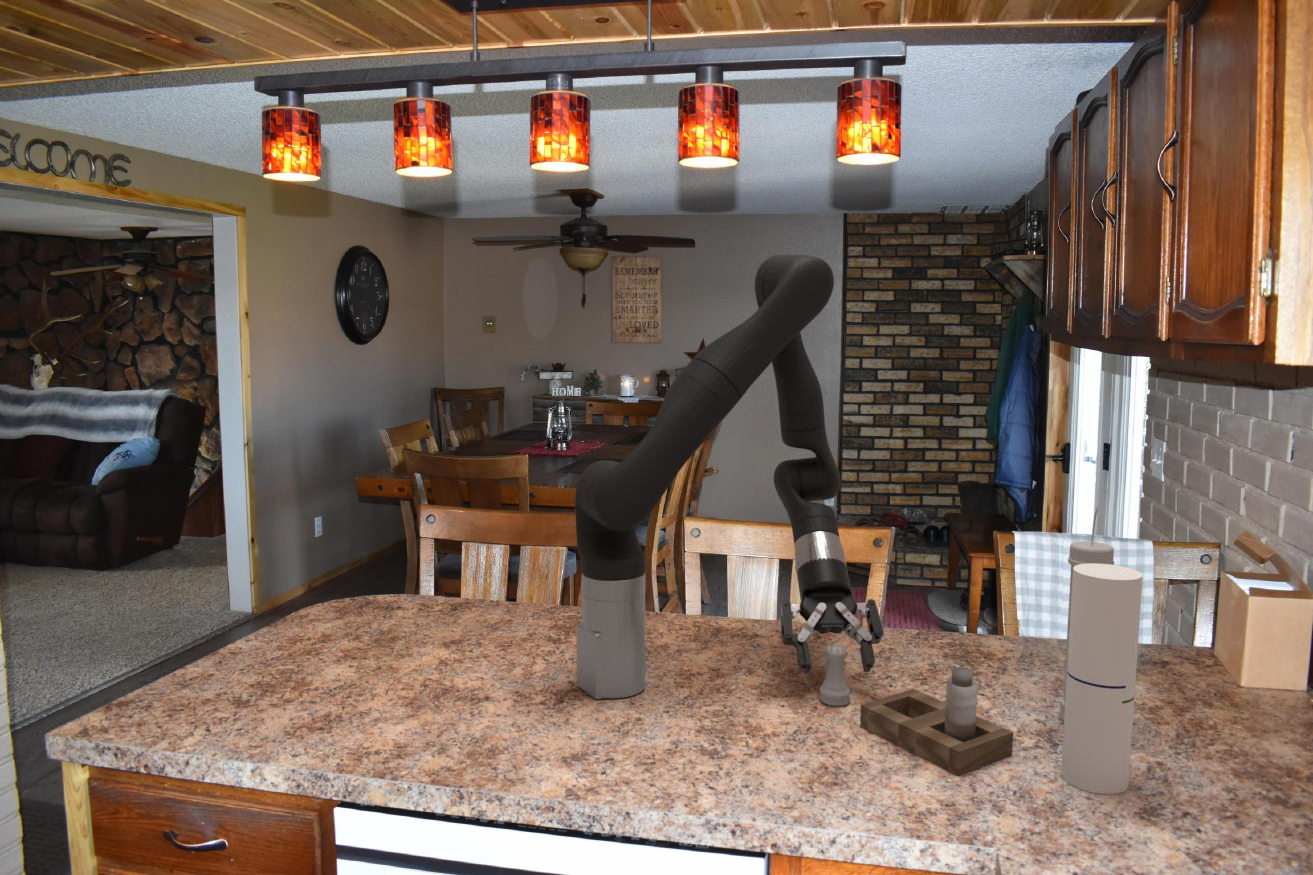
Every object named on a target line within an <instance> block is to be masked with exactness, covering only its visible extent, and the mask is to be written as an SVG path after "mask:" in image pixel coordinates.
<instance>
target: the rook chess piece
mask: <svg viewBox="0 0 1313 875" xmlns="http://www.w3.org/2000/svg"><path fill="white" fill-rule="evenodd" d="M823 653H824V654H825V656H826V658H827V660H826V661H825V665H826V673H825V678H824V680H823V682H822V685H821V686H820V688H819V692H820V694H819V695H818V697H819V700H820V701H821V702H822V703H823V704H824V705H827V706H829V707H830V706H831V707H844V706H846V705H847V706H848V704H849V703H850V701H851V699H852V698H851V696H850V695H851V690H850V688H849V687H848V684H847V682H846V681H847V680H846V677H845V676H846V674H845V666H846V665H847V664H846V661H845V659H846V658H847V657H848V652H847V650H846V646H845V645H843V644H842V643H839V644H838V646H837V643H832V644H831V643H829V644H827V646H826V650H824V652H823Z"/></svg>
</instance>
